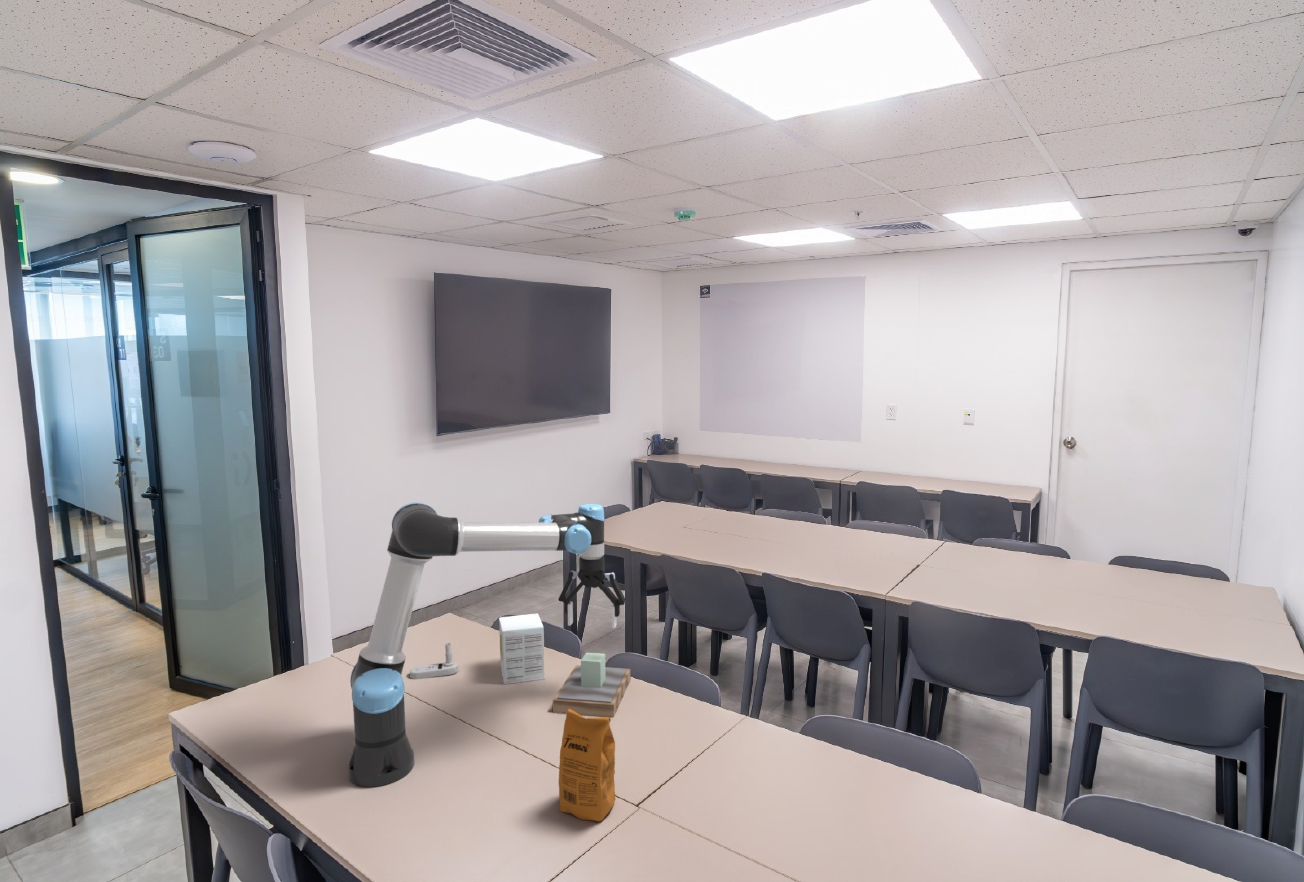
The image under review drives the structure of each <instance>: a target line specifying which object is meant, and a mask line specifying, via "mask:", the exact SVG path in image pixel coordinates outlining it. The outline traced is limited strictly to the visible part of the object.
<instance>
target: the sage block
mask: <svg viewBox="0 0 1304 882" xmlns="http://www.w3.org/2000/svg"><path fill="white" fill-rule="evenodd" d="M580 665H581V686H583V687H597V688H601V686H602V685H603V683H604V681H605V679H606V678H605V667H606V653H598V652H585V654H584V655H583V657H582V658H581V660H580Z"/></svg>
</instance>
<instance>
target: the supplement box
mask: <svg viewBox="0 0 1304 882" xmlns="http://www.w3.org/2000/svg"><path fill="white" fill-rule="evenodd" d="M498 624H499V625H498V626H499V629H498V630H499V649H500V650H499V654H500V671H501V677H502V681H503V684H504V685H509V684H517V683H523V682H532V681H539V680H545V637H544V636H545V635H544V634H545V631H544V629H545V628H544V625H543V622H542V619H541V618H540V615H539V613H529V614H521V615H518V614H517V615H511V616H502V617H499V618H498Z"/></svg>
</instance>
